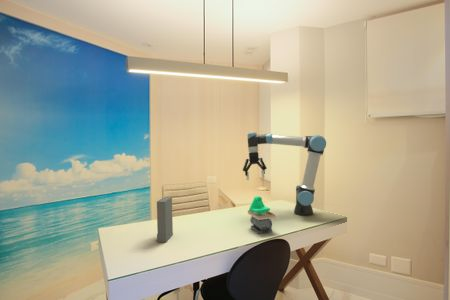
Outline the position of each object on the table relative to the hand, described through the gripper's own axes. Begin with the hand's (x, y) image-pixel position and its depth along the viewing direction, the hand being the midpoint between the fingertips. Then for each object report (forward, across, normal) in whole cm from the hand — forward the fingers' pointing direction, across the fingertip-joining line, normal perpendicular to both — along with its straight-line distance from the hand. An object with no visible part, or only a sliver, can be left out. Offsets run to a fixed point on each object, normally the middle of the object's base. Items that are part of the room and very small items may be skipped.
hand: (255, 179), depth 216 cm
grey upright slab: (+30, +75, +15) cm, 82 cm away
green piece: (+20, +13, +26) cm, 36 cm away
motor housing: (+32, +13, +26) cm, 44 cm away
